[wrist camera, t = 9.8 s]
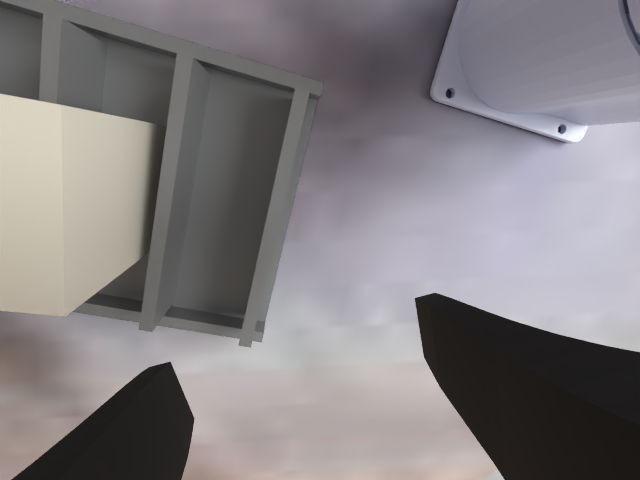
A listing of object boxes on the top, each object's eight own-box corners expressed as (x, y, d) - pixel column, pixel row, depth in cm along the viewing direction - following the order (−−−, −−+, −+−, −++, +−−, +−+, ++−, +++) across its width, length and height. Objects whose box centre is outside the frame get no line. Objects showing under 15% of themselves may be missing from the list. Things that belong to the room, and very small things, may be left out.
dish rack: (319, 88, 17) (330, 70, 13) (263, 325, 20) (258, 366, 16) (-23, -16, 14) (-134, -76, 11) (-25, 276, 18) (-110, 311, 14)
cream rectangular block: (167, 126, 16) (61, 104, 8) (160, 243, 17) (64, 317, 10) (112, 116, 16) (-53, 83, 8) (110, 236, 17) (-31, 308, 9)
